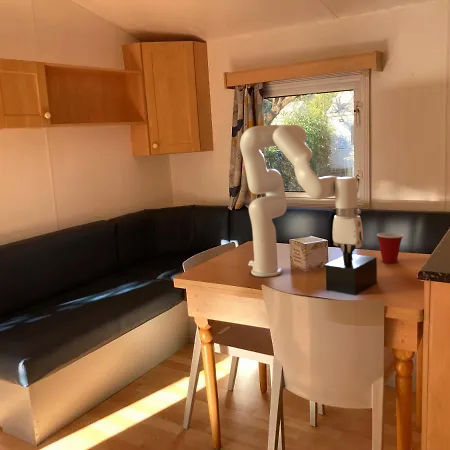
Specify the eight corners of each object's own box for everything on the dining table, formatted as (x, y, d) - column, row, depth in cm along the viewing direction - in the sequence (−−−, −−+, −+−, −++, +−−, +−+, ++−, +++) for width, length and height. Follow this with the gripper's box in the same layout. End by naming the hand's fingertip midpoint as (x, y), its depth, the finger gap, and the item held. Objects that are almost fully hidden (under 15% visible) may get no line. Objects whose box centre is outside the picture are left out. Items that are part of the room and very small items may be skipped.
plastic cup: (409, 261, 209) (409, 233, 207) (392, 266, 203) (392, 237, 201) (387, 256, 218) (387, 230, 215) (371, 261, 212) (371, 234, 210)
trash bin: (355, 295, 173) (354, 270, 171) (326, 289, 180) (325, 266, 179) (376, 282, 184) (376, 259, 183) (348, 277, 192) (348, 255, 191)
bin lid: (353, 271, 170) (353, 269, 170) (324, 266, 178) (324, 264, 178) (376, 259, 183) (376, 257, 183) (348, 255, 191) (348, 253, 190)
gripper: (371, 211, 173) (372, 262, 176) (333, 209, 183) (334, 257, 186) (361, 215, 168) (362, 267, 171) (322, 212, 178) (324, 262, 181)
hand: (347, 262), depth 179 cm, fingers closed
